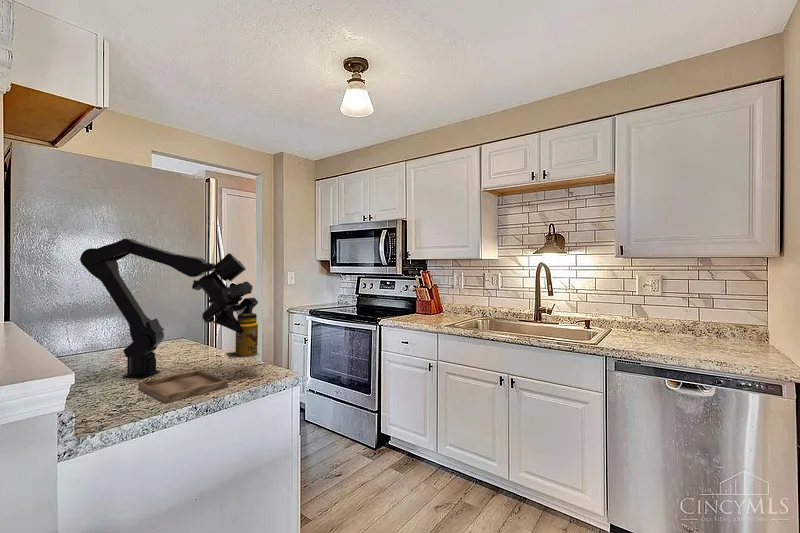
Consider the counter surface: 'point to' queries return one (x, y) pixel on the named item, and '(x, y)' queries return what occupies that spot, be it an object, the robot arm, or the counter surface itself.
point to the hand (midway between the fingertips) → (249, 330)
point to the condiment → (246, 337)
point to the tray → (182, 386)
